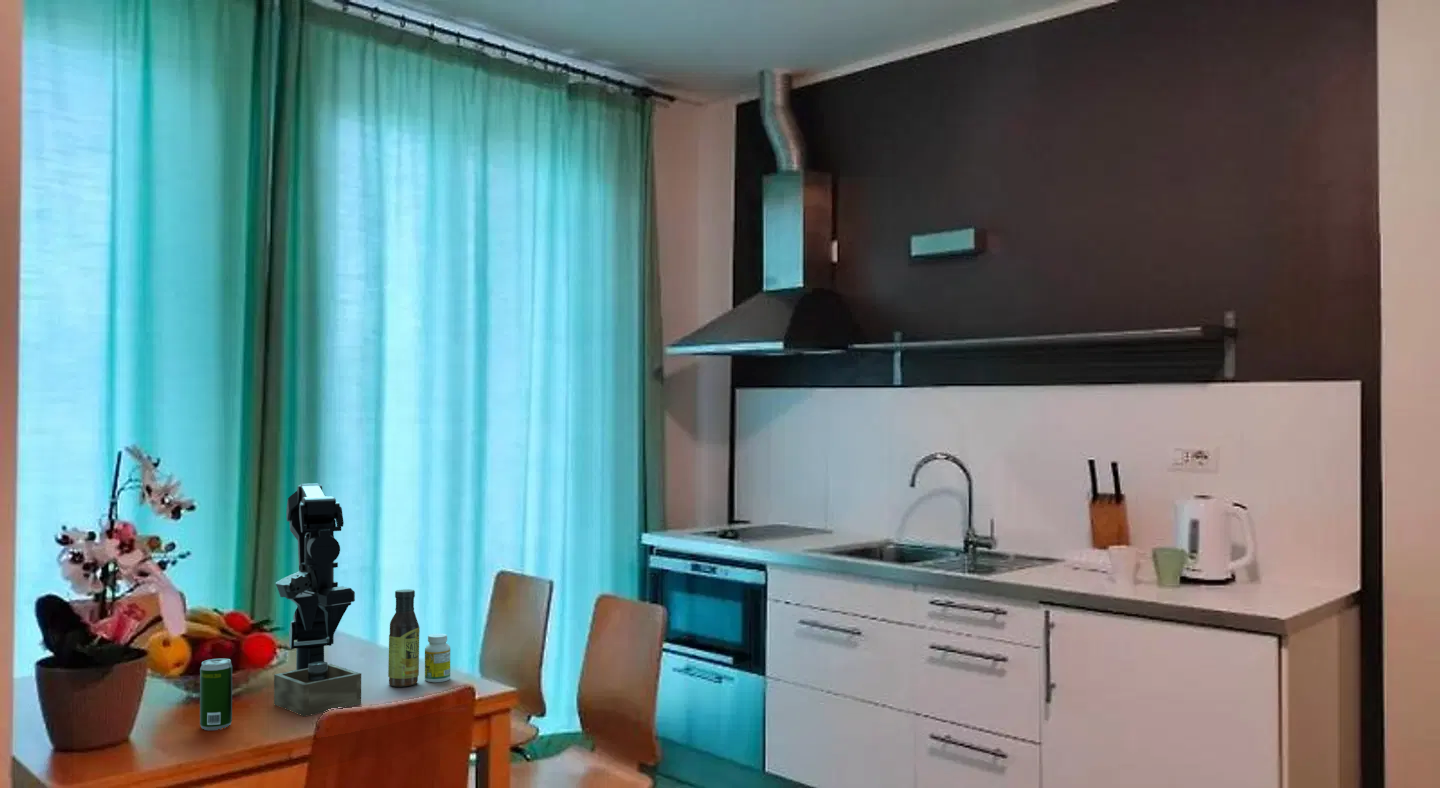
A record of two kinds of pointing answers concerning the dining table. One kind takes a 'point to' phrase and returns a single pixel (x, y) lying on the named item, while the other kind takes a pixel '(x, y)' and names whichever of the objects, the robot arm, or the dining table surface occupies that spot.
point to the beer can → (215, 694)
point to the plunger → (317, 671)
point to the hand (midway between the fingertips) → (318, 633)
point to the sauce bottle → (404, 641)
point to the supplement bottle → (437, 658)
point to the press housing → (317, 690)
